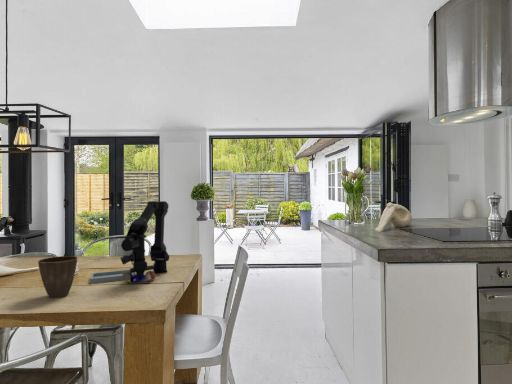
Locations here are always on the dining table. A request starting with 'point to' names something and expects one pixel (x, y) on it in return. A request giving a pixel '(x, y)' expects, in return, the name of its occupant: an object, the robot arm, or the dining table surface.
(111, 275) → the cradle
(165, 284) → the dining table surface
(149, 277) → the figurine character
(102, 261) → the dining table surface
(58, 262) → the plant pot
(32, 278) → the dining table surface
